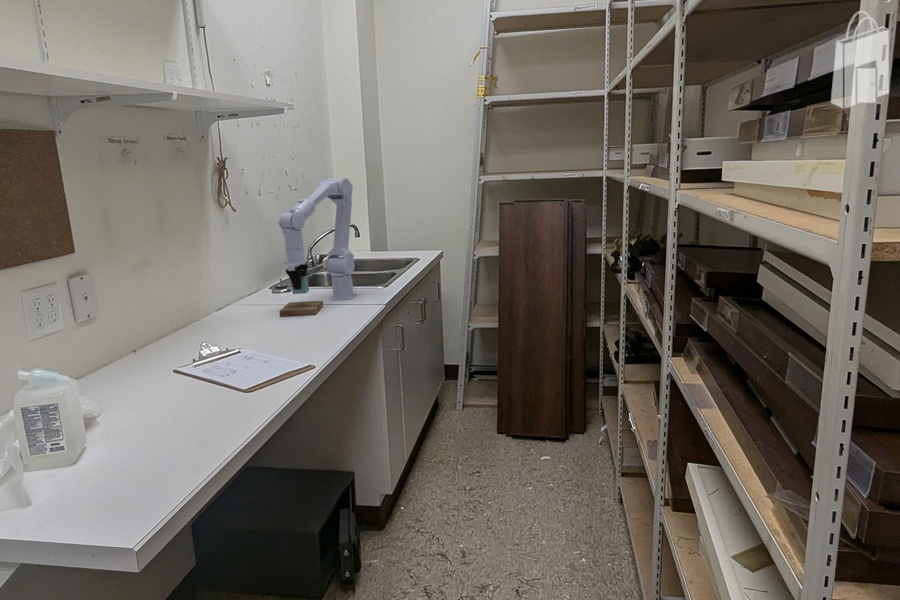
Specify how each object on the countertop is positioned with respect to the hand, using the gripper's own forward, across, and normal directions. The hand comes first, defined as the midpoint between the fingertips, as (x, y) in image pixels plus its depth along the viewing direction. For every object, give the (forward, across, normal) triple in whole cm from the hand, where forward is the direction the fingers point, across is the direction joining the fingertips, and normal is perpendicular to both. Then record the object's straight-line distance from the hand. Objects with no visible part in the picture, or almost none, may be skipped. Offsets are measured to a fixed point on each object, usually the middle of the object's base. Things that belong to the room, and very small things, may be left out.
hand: (299, 287), depth 196 cm
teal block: (+2, 0, 0) cm, 2 cm away
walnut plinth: (+8, 0, 0) cm, 8 cm away
